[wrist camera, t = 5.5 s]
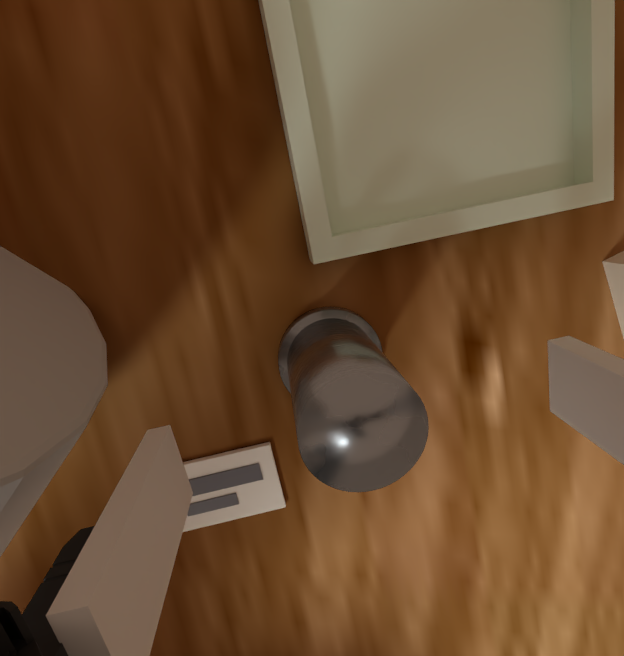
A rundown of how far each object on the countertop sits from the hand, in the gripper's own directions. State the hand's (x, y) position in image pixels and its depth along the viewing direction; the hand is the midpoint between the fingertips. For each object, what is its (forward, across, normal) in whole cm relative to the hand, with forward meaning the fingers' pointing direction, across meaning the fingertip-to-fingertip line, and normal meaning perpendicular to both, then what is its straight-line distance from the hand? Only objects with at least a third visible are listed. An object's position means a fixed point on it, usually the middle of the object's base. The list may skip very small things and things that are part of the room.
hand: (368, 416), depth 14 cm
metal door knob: (+7, 0, 0) cm, 7 cm away
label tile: (+7, -7, -6) cm, 12 cm away
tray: (+8, +7, +12) cm, 15 cm away
